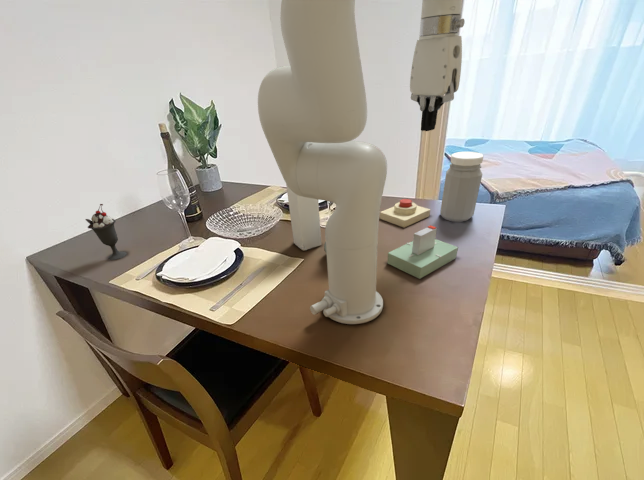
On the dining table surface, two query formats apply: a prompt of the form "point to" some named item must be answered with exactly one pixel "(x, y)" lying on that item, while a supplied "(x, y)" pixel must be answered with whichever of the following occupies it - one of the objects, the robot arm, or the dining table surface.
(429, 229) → the grey rectangular block
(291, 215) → the milk
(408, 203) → the button
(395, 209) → the button box
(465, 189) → the jar
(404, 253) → the panel
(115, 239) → the sundae
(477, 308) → the dining table surface
